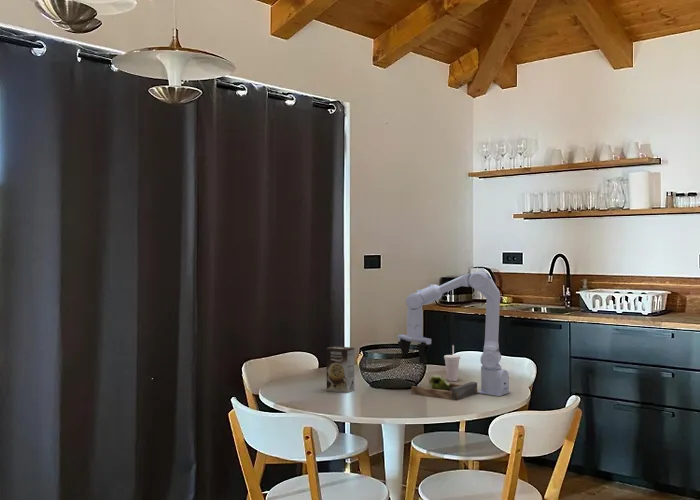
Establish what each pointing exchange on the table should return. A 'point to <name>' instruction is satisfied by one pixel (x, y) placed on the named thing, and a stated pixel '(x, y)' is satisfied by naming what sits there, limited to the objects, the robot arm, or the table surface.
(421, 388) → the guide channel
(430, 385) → the fruit
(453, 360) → the smoothie
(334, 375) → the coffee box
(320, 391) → the table surface
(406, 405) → the table surface
